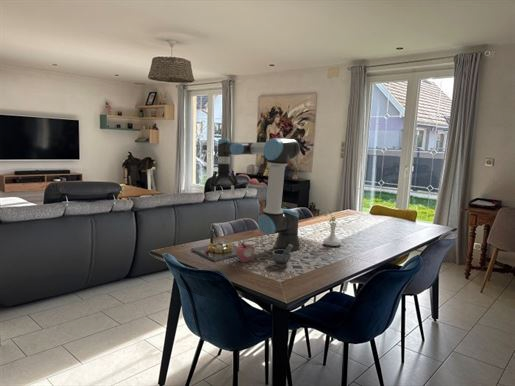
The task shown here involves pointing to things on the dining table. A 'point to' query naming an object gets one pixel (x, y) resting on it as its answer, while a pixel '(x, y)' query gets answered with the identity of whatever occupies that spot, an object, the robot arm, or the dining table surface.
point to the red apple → (245, 252)
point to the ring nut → (218, 249)
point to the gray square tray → (215, 256)
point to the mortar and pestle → (282, 256)
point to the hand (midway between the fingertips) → (223, 195)
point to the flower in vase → (331, 239)
